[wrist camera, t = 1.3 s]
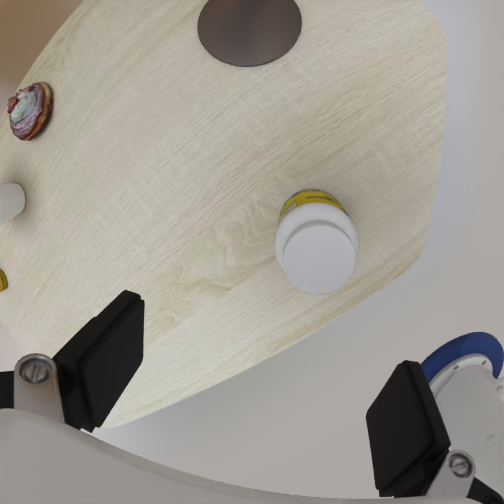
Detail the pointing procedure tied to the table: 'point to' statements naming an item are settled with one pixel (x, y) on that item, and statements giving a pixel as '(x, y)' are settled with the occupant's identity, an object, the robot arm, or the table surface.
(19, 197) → the ice cream cone
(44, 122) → the pastry
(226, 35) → the coaster
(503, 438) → the robot arm
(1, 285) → the chess piece
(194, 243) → the table surface
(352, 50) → the table surface
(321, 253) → the pill bottle
